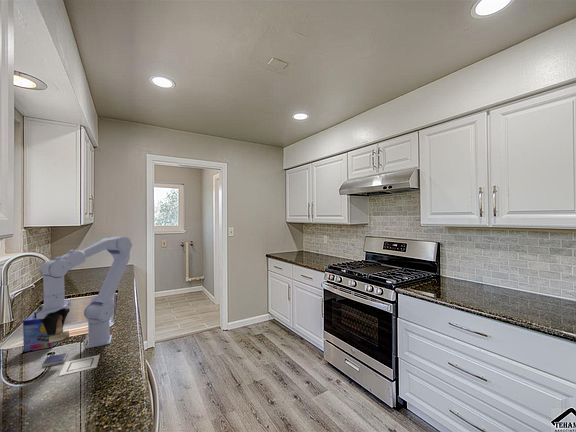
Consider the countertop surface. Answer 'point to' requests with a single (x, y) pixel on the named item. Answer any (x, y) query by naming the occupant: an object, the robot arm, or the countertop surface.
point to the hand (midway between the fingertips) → (55, 332)
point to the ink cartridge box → (35, 334)
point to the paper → (80, 365)
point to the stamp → (59, 332)
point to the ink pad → (55, 360)
